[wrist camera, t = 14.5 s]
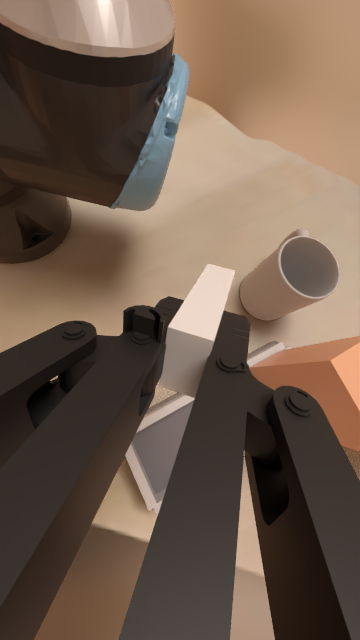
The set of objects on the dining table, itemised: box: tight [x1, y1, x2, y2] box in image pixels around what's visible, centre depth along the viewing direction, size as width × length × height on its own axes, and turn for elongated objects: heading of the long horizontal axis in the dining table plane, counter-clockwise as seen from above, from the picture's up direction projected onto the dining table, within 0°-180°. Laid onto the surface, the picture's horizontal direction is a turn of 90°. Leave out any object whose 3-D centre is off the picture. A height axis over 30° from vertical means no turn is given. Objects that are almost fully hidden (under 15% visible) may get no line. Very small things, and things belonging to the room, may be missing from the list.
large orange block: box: [249, 336, 360, 452], centre depth 26 cm, size 6×8×16 cm
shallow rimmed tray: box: [125, 341, 292, 515], centre depth 31 cm, size 25×10×4 cm, turn 117°
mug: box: [240, 228, 340, 321], centre depth 35 cm, size 12×8×11 cm
